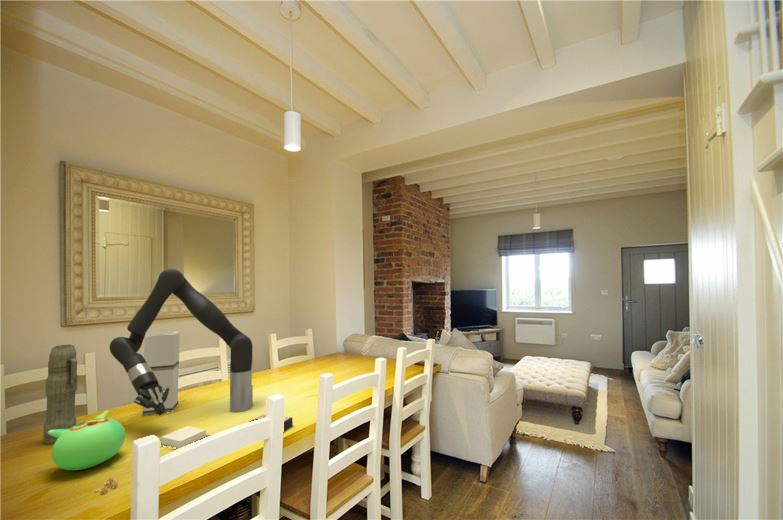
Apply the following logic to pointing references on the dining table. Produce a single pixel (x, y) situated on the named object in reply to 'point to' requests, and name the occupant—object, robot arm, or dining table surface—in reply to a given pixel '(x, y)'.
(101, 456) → the green eared figurine
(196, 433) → the tile
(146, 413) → the grooved grey pillar
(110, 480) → the dice set
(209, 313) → the robot arm
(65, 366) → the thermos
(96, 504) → the dining table surface
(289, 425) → the calculator
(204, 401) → the dining table surface
